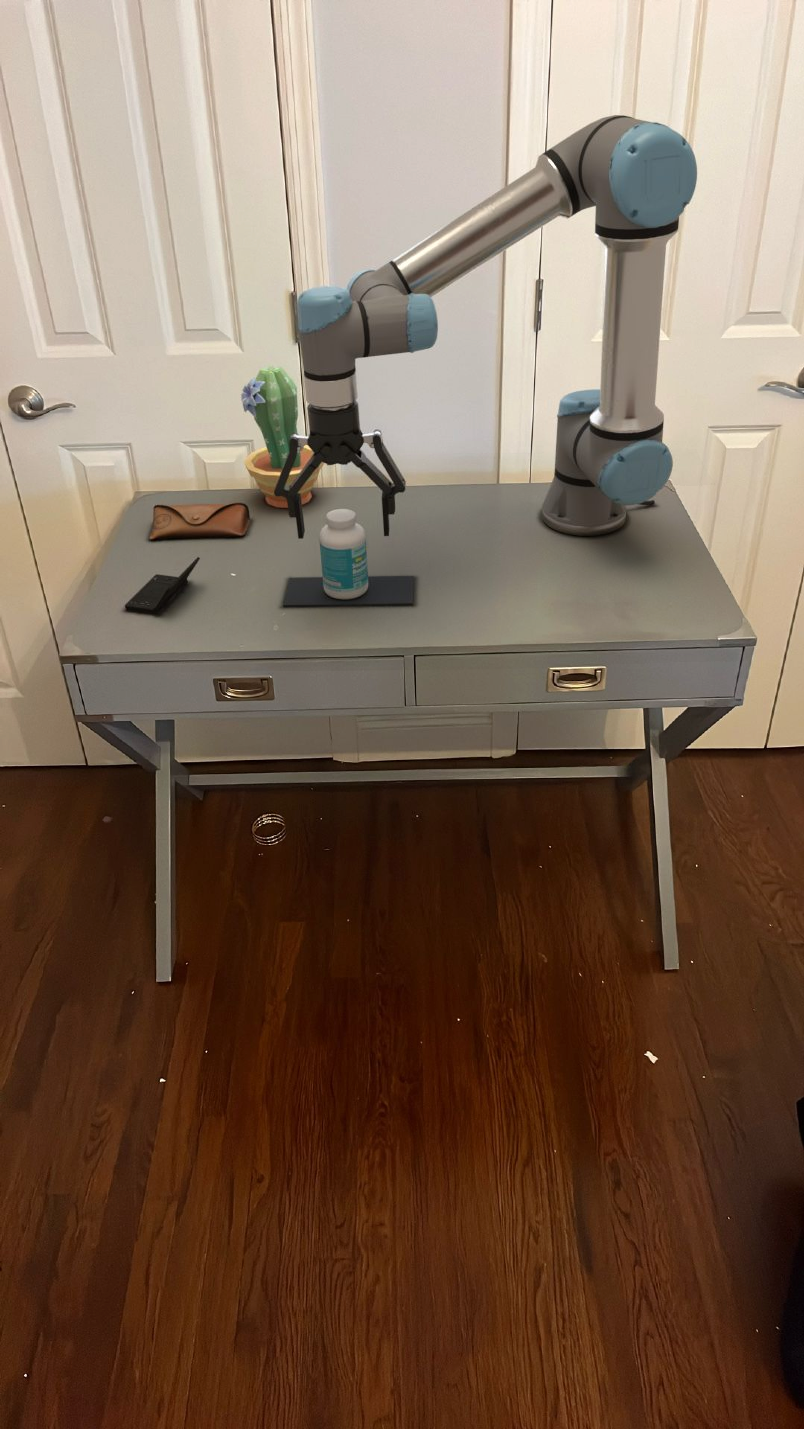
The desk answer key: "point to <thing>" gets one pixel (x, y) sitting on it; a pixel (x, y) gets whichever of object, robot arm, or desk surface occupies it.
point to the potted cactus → (275, 433)
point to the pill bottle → (343, 555)
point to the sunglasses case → (200, 521)
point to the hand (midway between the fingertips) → (344, 533)
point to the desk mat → (377, 594)
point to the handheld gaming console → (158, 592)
